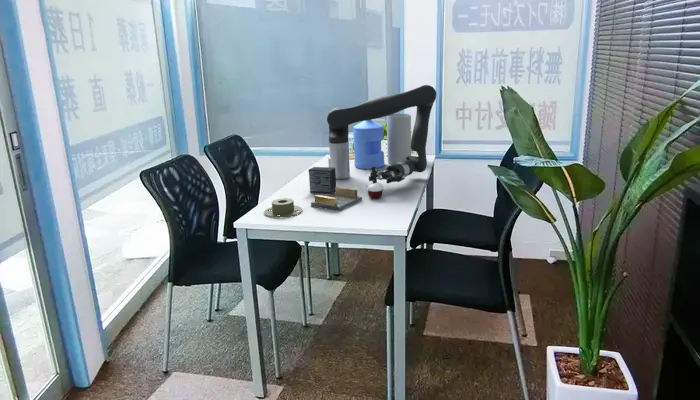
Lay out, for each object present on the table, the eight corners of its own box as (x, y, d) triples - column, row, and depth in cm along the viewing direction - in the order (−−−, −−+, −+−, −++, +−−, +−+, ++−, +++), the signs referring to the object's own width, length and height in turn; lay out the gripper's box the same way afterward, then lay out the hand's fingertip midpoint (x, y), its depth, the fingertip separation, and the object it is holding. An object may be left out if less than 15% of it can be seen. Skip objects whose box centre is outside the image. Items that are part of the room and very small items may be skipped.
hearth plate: (310, 206, 216) (310, 195, 214) (334, 196, 228) (333, 185, 227) (339, 210, 208) (338, 199, 207) (361, 200, 220) (361, 189, 219)
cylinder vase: (384, 164, 282) (383, 116, 275) (391, 159, 293) (390, 113, 286) (407, 165, 277) (407, 117, 270) (414, 160, 288) (413, 113, 281)
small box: (337, 190, 238) (336, 167, 235) (332, 194, 232) (330, 170, 229) (315, 188, 241) (313, 166, 238) (309, 192, 235) (308, 169, 232)
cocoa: (379, 202, 219) (379, 173, 215) (365, 200, 221) (364, 172, 217) (386, 194, 227) (386, 167, 223) (371, 193, 229) (371, 166, 225)
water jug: (348, 167, 278) (346, 113, 270) (365, 161, 290) (363, 109, 282) (374, 170, 269) (372, 114, 261) (390, 164, 282) (388, 110, 274)
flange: (306, 196, 214) (271, 195, 217) (294, 207, 200) (257, 206, 203) (307, 207, 215) (272, 206, 219) (295, 219, 201) (258, 218, 205)
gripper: (383, 161, 239) (363, 169, 226) (412, 164, 231) (393, 172, 218) (384, 178, 241) (364, 186, 228) (412, 181, 233) (393, 190, 220)
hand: (378, 179), depth 223 cm, fingers open, 8 cm apart
